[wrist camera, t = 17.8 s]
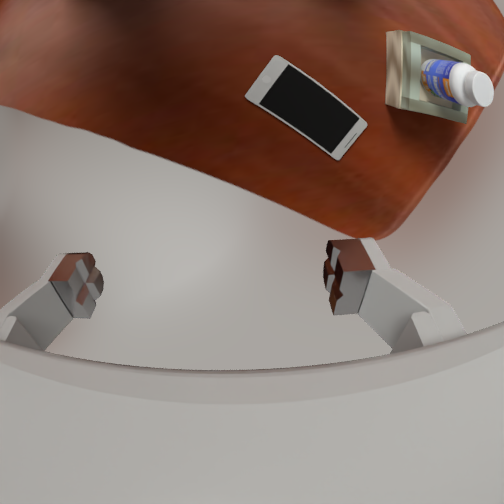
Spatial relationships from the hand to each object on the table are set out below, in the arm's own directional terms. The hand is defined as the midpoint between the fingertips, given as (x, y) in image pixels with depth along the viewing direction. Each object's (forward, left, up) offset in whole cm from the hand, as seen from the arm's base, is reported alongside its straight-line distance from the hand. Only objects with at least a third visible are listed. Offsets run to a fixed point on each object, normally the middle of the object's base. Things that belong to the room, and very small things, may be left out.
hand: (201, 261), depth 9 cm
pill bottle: (-8, +26, -25) cm, 37 cm away
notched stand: (-8, +26, -29) cm, 40 cm away
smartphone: (-1, +10, -30) cm, 31 cm away
